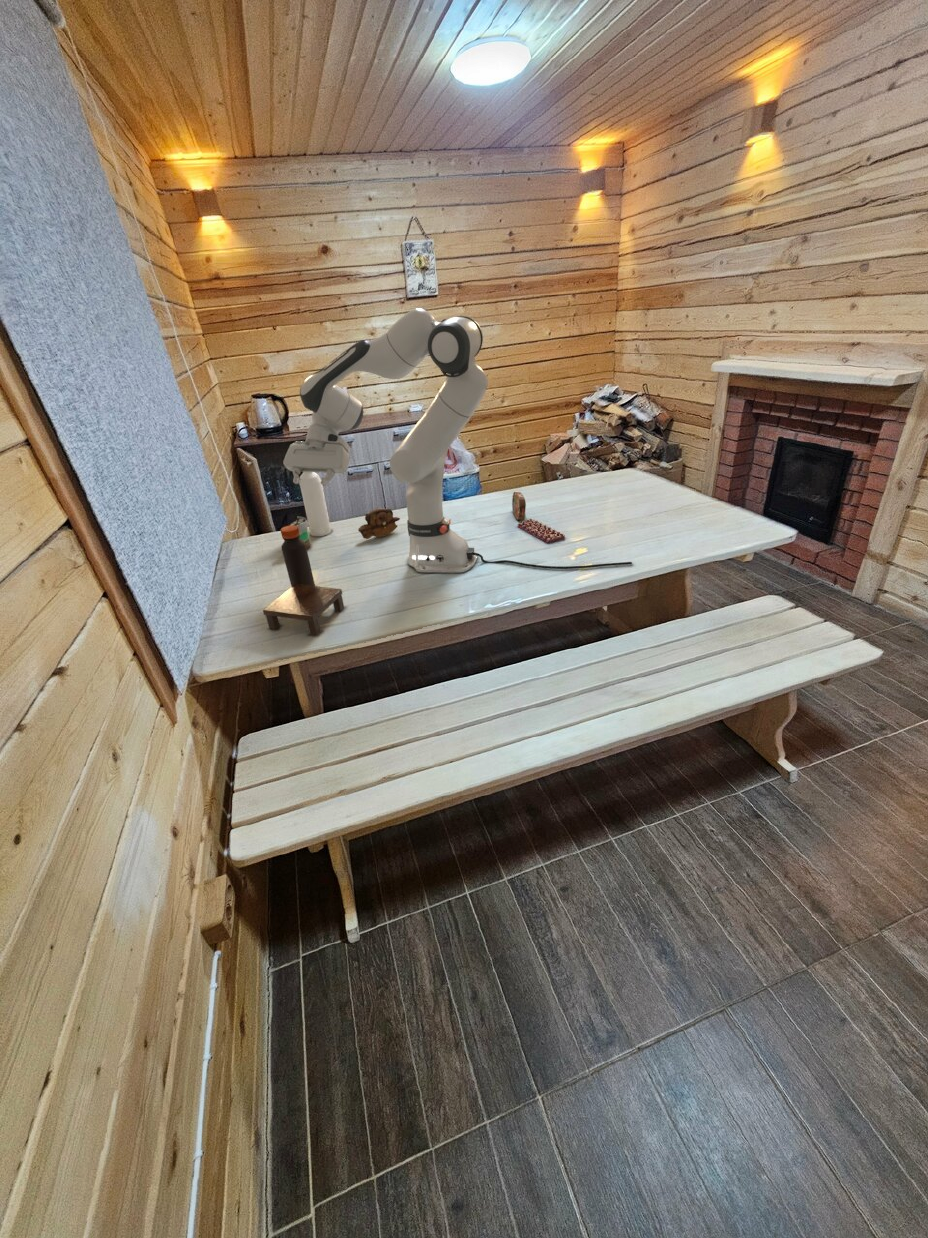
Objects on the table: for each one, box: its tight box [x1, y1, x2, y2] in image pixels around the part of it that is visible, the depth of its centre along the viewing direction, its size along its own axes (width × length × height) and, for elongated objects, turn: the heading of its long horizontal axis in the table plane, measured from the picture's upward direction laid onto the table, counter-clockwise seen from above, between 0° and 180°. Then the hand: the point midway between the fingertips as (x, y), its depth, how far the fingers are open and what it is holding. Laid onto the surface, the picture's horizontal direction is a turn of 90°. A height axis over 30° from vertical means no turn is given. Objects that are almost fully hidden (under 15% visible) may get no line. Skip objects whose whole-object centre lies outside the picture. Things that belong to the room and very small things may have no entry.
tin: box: [511, 491, 527, 520], centre depth 199 cm, size 15×3×8 cm, turn 5°
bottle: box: [299, 472, 332, 537], centre depth 189 cm, size 8×8×30 cm
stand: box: [262, 584, 345, 636], centre depth 141 cm, size 15×15×6 cm
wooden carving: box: [357, 508, 401, 540], centre depth 188 cm, size 16×5×10 cm, turn 131°
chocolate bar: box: [517, 518, 566, 544], centre depth 186 cm, size 7×19×2 cm, turn 28°
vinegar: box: [280, 525, 316, 588], centre depth 152 cm, size 7×7×20 cm
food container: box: [287, 515, 311, 551], centre depth 182 cm, size 12×6×10 cm, turn 168°
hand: (310, 483), depth 153 cm, fingers open, 8 cm apart
